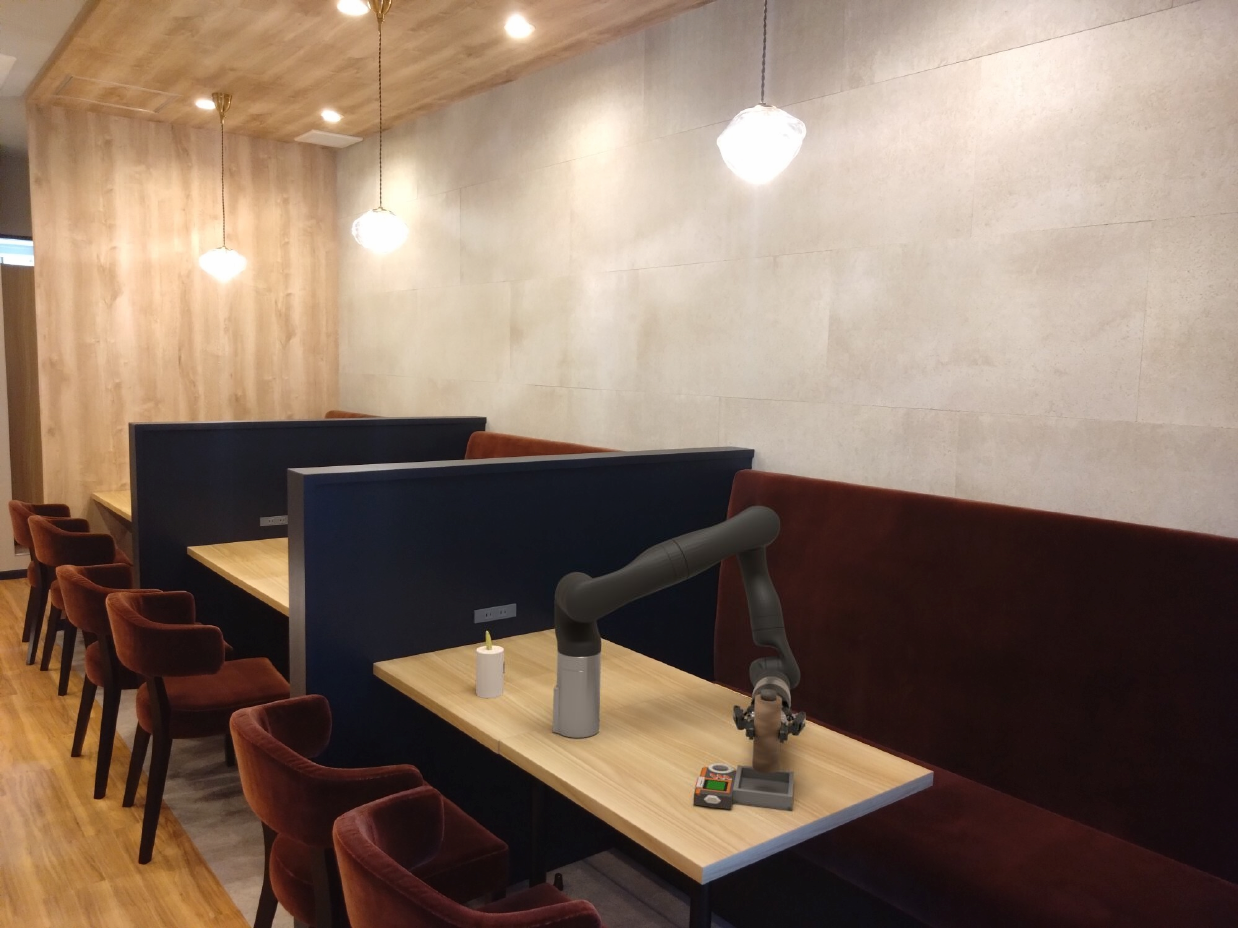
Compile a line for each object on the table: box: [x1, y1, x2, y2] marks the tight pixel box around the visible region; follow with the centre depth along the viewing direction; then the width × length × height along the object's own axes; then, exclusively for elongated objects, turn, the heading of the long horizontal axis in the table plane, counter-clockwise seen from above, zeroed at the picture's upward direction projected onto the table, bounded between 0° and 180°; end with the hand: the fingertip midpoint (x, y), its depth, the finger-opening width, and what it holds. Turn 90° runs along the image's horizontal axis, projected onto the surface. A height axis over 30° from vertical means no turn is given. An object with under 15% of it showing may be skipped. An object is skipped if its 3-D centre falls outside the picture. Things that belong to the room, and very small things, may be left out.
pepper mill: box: [751, 689, 782, 773], centre depth 163 cm, size 5×5×14 cm
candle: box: [475, 630, 506, 699], centre depth 210 cm, size 6×6×15 cm
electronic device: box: [692, 762, 737, 810], centre depth 166 cm, size 7×3×15 cm
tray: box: [732, 764, 795, 811], centre depth 165 cm, size 10×10×2 cm
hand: (766, 736), depth 161 cm, fingers closed on pepper mill, 4 cm apart
